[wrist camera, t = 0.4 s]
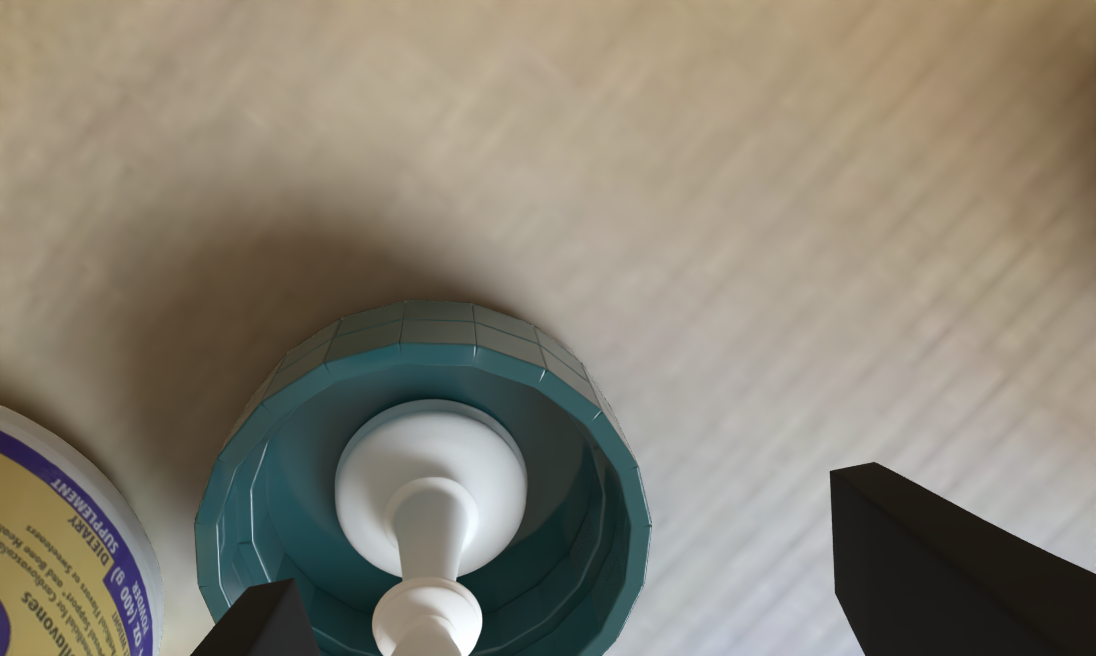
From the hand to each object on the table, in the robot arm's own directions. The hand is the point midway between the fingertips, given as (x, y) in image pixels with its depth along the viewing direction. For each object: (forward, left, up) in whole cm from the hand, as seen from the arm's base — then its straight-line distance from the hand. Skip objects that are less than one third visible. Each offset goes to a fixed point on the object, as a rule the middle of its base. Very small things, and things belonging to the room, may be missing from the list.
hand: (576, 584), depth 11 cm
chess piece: (-4, -2, -10) cm, 11 cm away
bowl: (-4, -2, -10) cm, 11 cm away
